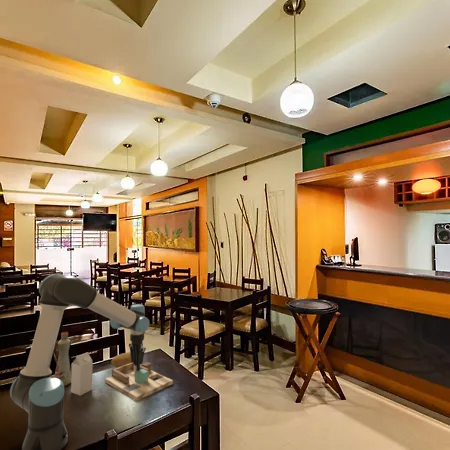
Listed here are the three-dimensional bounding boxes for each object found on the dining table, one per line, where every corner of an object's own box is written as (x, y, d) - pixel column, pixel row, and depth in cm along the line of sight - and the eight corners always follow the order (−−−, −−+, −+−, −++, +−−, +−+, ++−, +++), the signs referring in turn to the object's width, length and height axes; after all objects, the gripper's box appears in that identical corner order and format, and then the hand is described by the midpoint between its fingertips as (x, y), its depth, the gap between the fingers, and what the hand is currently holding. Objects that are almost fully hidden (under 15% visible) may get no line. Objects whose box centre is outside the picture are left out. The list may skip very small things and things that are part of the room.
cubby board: (136, 401, 148) (136, 389, 148) (105, 382, 167) (105, 372, 168) (172, 383, 166) (172, 373, 166) (140, 368, 185) (140, 359, 185)
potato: (108, 367, 186) (108, 354, 186) (130, 361, 195) (130, 349, 195) (114, 373, 179) (114, 359, 179) (137, 366, 188) (137, 353, 188)
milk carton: (70, 392, 156) (71, 355, 157) (83, 386, 162) (83, 350, 163) (80, 396, 153) (80, 357, 154) (92, 389, 159) (92, 353, 160)
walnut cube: (146, 372, 175) (146, 365, 175) (141, 371, 176) (141, 364, 177) (150, 370, 178) (151, 363, 179) (145, 368, 180) (145, 362, 180)
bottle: (71, 386, 163) (72, 333, 164) (51, 389, 160) (53, 335, 161) (72, 379, 171) (73, 328, 172) (54, 381, 168) (55, 330, 169)
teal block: (140, 384, 161) (140, 374, 161) (134, 381, 164) (134, 371, 165) (147, 380, 165) (148, 371, 165) (142, 378, 168) (142, 368, 168)
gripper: (150, 333, 167) (149, 377, 166) (136, 329, 175) (135, 370, 174) (138, 337, 161) (137, 382, 160) (124, 332, 169) (124, 375, 169)
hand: (136, 376), depth 167 cm, fingers closed
